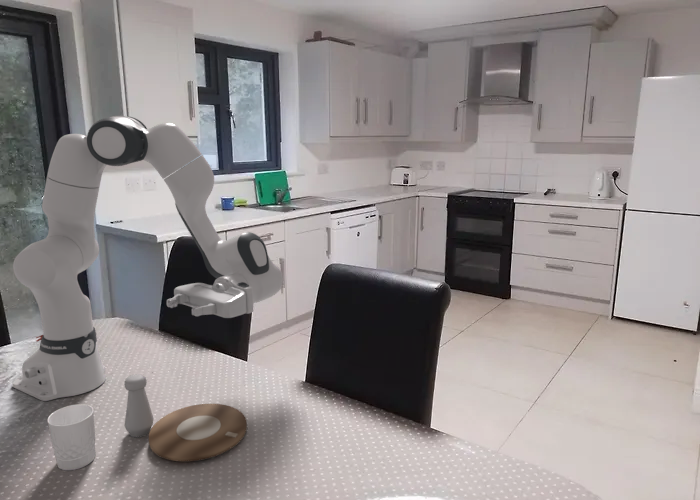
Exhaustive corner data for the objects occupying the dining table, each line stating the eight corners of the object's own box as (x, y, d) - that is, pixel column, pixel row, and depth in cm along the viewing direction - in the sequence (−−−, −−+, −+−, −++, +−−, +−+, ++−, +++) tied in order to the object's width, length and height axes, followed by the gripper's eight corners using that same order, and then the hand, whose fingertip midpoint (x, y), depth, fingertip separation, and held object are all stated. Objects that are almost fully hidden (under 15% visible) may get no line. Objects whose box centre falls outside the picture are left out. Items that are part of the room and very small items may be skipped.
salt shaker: (144, 441, 106) (138, 384, 103) (119, 438, 107) (113, 382, 104) (159, 426, 112) (155, 372, 109) (136, 423, 113) (131, 369, 110)
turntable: (127, 449, 102) (126, 443, 102) (188, 401, 120) (188, 396, 120) (212, 470, 96) (212, 465, 95) (263, 416, 114) (263, 411, 114)
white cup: (52, 477, 95) (46, 430, 93) (54, 454, 102) (48, 409, 99) (99, 465, 98) (94, 419, 96) (98, 444, 105) (93, 400, 103)
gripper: (202, 273, 130) (153, 286, 119) (256, 288, 118) (208, 303, 107) (203, 297, 131) (155, 311, 120) (257, 313, 119) (209, 331, 108)
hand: (180, 308), depth 113 cm, fingers open, 8 cm apart
